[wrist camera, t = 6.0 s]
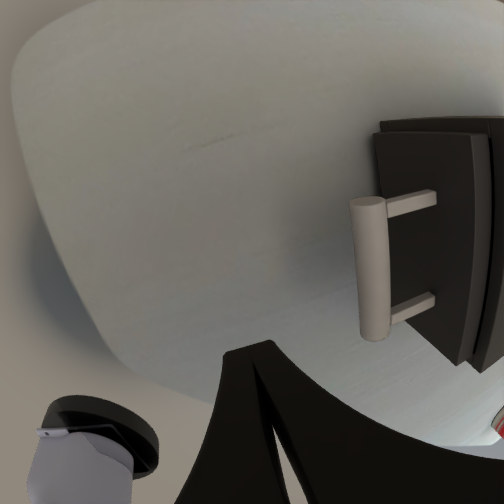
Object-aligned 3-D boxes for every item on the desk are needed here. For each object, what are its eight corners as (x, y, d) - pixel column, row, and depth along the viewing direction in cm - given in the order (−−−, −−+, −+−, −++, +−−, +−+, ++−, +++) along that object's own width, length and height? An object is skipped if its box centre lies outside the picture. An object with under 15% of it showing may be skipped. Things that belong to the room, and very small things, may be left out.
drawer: (329, 328, 17) (387, 405, 11) (300, 145, 14) (382, 144, 8) (500, 252, 19) (560, 282, 13) (498, 124, 16) (570, 131, 9)
